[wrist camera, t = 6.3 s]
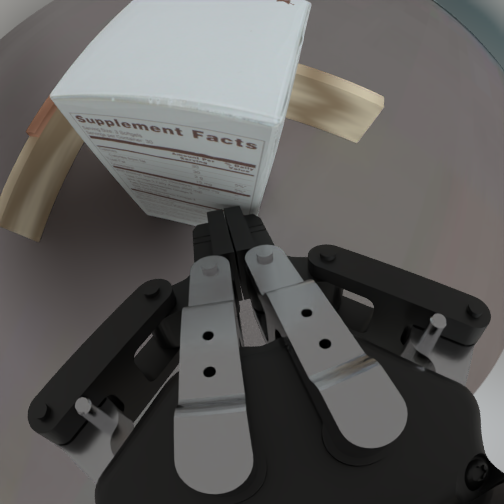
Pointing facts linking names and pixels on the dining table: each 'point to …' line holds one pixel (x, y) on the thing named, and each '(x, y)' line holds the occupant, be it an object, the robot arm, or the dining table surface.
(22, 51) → the dining table surface
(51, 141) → the wooden corner bracket
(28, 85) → the dining table surface
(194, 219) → the supplement box
